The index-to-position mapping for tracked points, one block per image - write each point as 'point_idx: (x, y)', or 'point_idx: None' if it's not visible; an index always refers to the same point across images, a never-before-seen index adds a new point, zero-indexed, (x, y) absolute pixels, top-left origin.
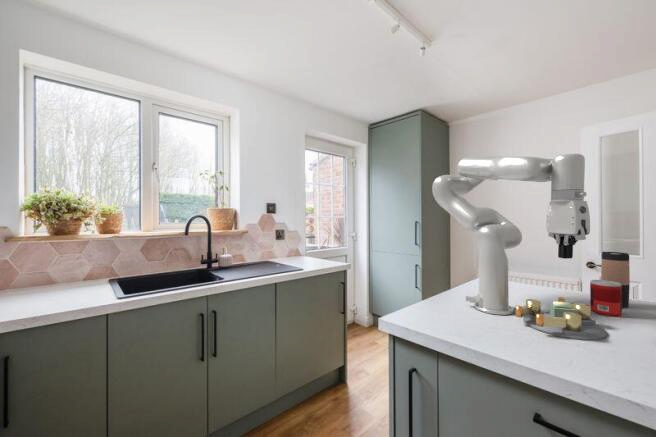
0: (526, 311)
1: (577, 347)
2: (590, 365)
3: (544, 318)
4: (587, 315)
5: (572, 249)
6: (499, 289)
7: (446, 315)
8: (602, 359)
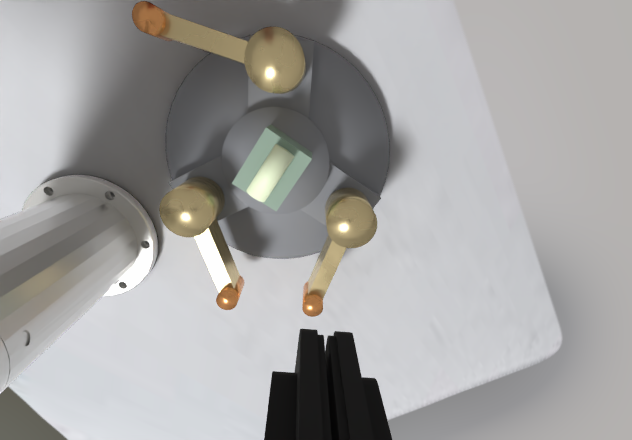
0: (227, 259)
1: (397, 257)
2: (460, 311)
3: (322, 296)
4: (304, 71)
5: (390, 435)
6: (88, 299)
7: (140, 390)
8: (456, 265)
